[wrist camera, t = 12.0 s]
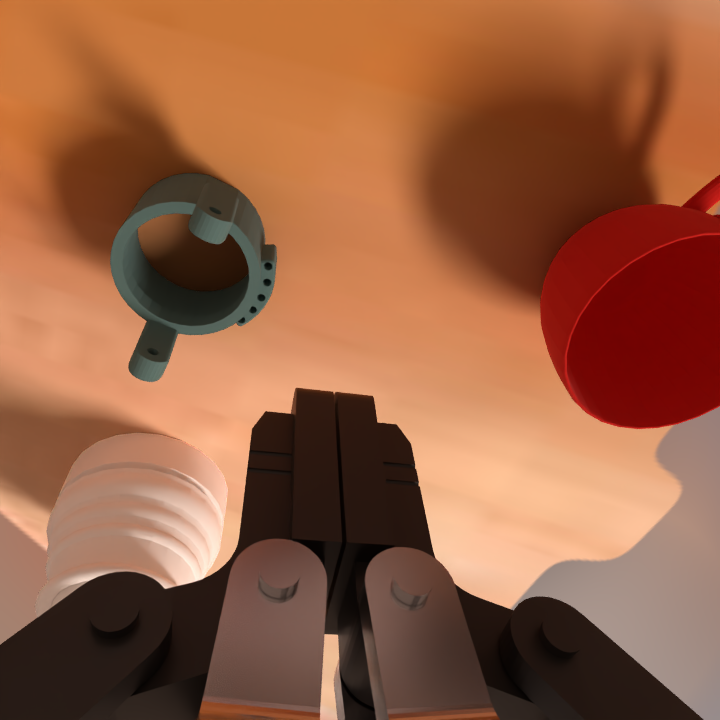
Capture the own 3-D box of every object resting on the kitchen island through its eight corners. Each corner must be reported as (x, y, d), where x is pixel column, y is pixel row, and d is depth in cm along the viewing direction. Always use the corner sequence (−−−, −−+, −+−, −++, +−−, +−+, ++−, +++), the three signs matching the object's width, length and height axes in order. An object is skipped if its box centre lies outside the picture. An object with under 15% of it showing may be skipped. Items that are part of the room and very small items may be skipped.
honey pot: (165, 408, 45) (98, 628, 31) (256, 507, 52) (238, 726, 37) (33, 472, 48) (-88, 703, 33) (137, 558, 55) (75, 783, 40)
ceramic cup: (784, 172, 39) (915, 230, 30) (610, 366, 46) (677, 455, 38) (638, 70, 34) (744, 106, 26) (474, 303, 42) (516, 387, 34)
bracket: (162, 311, 41) (133, 390, 34) (107, 180, 36) (57, 239, 28) (290, 285, 41) (289, 359, 33) (253, 149, 35) (242, 201, 28)
